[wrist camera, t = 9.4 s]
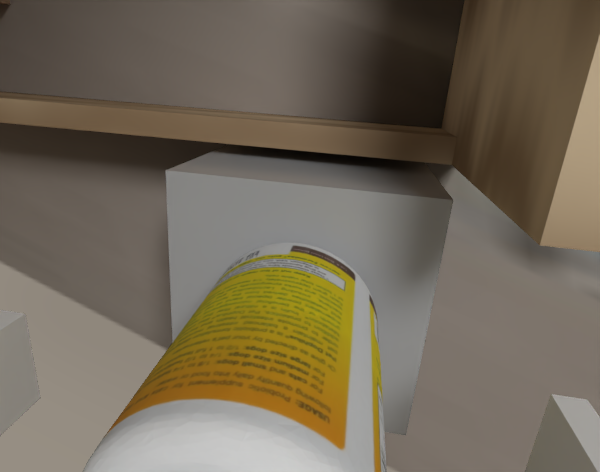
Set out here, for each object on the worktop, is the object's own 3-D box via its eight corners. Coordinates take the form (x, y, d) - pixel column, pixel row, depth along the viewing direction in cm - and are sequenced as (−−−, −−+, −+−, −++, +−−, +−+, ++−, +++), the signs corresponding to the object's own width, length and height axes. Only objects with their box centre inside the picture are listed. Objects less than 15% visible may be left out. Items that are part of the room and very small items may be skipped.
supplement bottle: (187, 279, 15) (-142, 643, 5) (326, 206, 13) (219, 540, 4) (270, 399, 16) (129, 869, 6) (406, 346, 14) (489, 869, 5)
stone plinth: (231, 143, 20) (165, 170, 14) (423, 161, 19) (453, 200, 12) (229, 308, 23) (174, 395, 17) (394, 332, 22) (405, 435, 16)
